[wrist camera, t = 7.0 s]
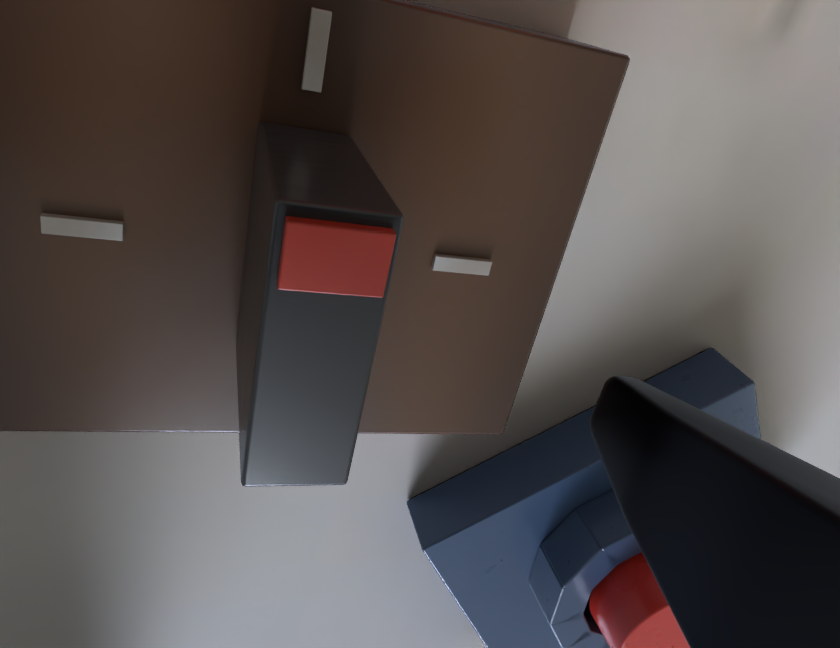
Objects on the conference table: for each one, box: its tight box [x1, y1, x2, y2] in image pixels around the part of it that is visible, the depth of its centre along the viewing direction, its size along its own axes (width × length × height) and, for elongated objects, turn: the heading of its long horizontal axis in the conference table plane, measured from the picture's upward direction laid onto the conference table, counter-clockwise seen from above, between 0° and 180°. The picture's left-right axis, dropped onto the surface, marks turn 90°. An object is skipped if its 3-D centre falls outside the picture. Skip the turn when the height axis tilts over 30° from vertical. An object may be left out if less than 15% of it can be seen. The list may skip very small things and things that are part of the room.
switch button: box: [589, 552, 690, 648], centre depth 21 cm, size 4×4×2 cm
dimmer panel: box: [0, 0, 630, 434], centre depth 15 cm, size 13×10×3 cm
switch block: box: [407, 348, 761, 648], centre depth 24 cm, size 12×10×4 cm
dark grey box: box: [236, 122, 404, 487], centre depth 12 cm, size 5×2×5 cm, turn 167°
